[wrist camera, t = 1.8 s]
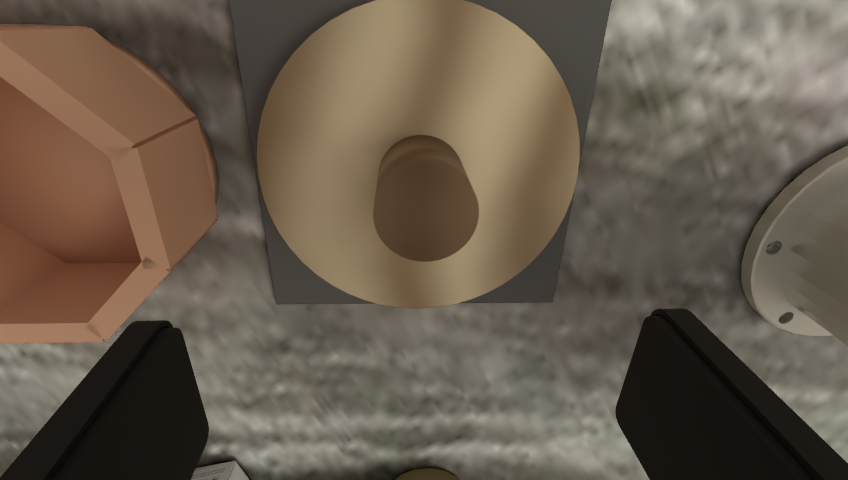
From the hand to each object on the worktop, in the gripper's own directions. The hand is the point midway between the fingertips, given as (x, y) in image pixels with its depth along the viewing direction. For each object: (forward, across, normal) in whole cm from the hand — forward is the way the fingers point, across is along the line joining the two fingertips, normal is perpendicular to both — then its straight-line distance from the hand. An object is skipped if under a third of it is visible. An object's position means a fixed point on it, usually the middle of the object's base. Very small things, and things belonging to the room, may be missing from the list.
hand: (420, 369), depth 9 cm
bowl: (+15, +15, 0) cm, 21 cm away
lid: (+14, -1, 0) cm, 14 cm away
